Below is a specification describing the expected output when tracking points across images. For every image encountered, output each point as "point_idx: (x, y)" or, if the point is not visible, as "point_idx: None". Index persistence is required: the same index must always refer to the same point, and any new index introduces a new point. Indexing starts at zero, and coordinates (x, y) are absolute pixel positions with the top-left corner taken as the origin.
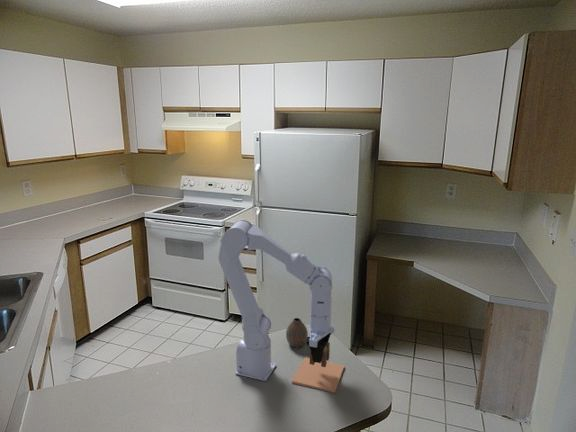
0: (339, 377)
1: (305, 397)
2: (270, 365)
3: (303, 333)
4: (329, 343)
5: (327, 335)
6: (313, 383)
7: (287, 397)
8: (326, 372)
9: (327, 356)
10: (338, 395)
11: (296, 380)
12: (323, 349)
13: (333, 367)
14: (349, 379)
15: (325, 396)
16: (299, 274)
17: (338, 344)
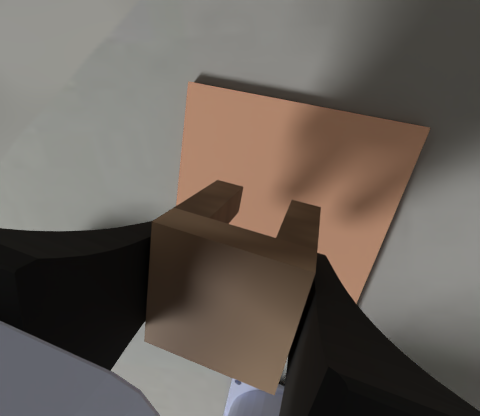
0: (298, 105)
1: (459, 275)
2: (273, 413)
3: None
4: (163, 223)
5: (91, 283)
6: (361, 241)
7: (454, 347)
8: (262, 176)
9: (233, 201)
10: (451, 104)
11: None
12: (403, 355)
13: (216, 141)
14: (293, 44)
15: (457, 179)
16: None
17: (37, 120)
